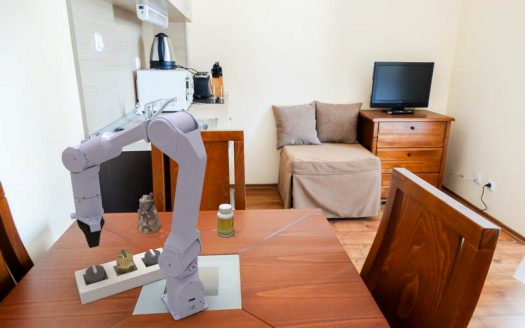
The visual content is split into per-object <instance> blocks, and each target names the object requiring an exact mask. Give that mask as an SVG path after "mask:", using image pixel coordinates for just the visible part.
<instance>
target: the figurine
mask: <svg viewBox="0 0 525 328" xmlns="http://www.w3.org/2000/svg"><path fill="white" fill-rule="evenodd" d="M153 196H154V193H153V192H149V194H148V195H147V194H143V195H142V196H141V197H140V199H139V200H138V201H139V209H137V212H138V217H137V218H138V221H137V231H138V233H140V234H147V235H149V234H154V233H156V232H158V231H160V230H159V229H160V228H161V218H160V215H159V212H158V210H157V208H156V201H155V199H154V198H153Z"/></svg>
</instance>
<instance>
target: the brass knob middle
mask: <svg viewBox="0 0 525 328" xmlns="http://www.w3.org/2000/svg"><path fill="white" fill-rule="evenodd" d="M114 256H115V260H116V265H117V272H118V273H119V274H120V275H123V274H126V273H130V272H133V270H134V263H133V251H132V250H130V249H124V248H123V249H121V250H120V251H118V252H116V253H115V255H114Z"/></svg>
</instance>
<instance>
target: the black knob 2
mask: <svg viewBox="0 0 525 328" xmlns="http://www.w3.org/2000/svg"><path fill="white" fill-rule="evenodd" d="M145 252H146V253H145V266H146V267H150V266H153V265H156V264H158V257H159V255H160V251H158V250H155V249H152V248H151V249H149V250H147V251H145Z"/></svg>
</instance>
